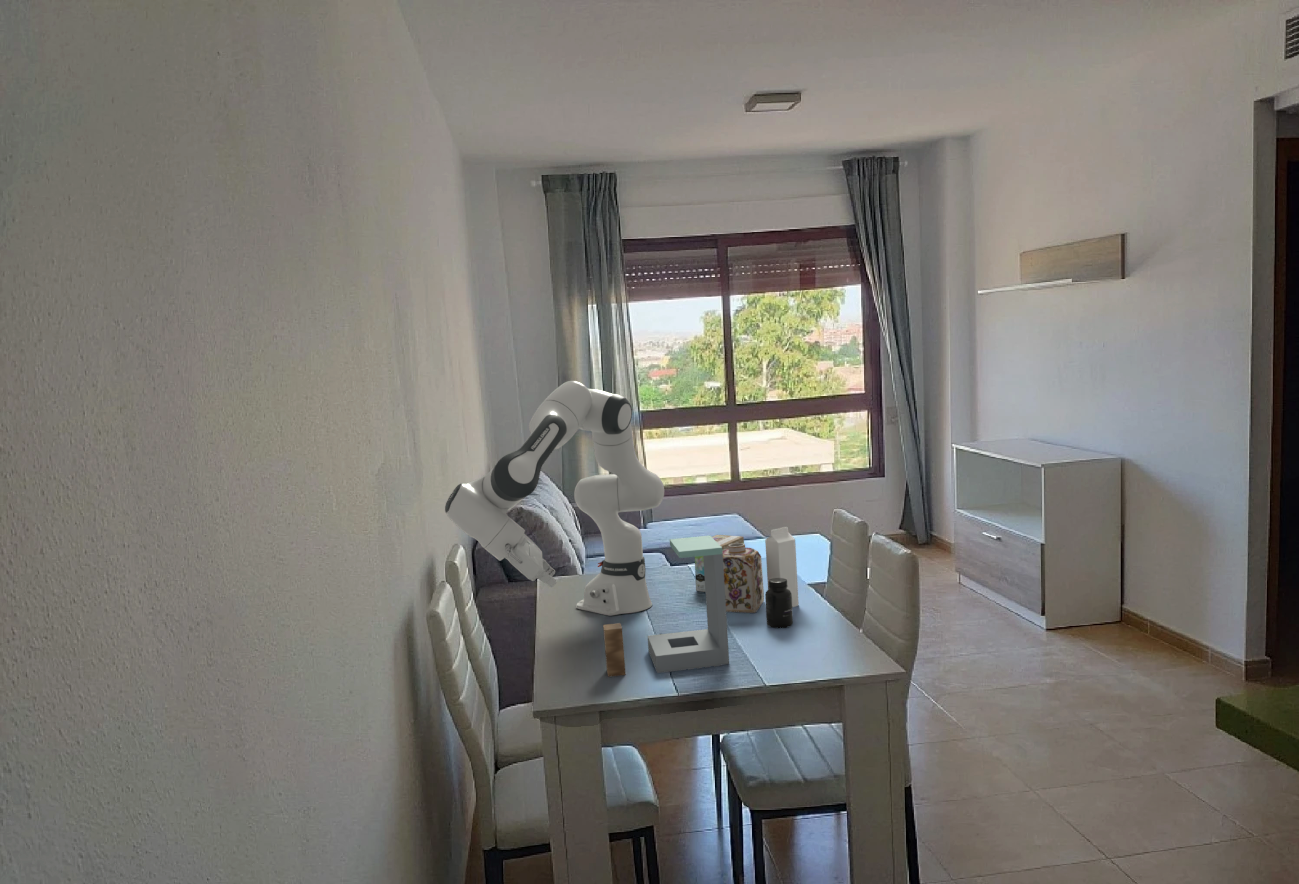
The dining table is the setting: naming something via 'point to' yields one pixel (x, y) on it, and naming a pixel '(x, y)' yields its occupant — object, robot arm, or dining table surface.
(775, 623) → the supplement bottle
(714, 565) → the socket stand
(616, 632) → the walnut peg
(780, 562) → the milk
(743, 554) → the decorative jar
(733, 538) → the tea box
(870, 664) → the dining table surface
